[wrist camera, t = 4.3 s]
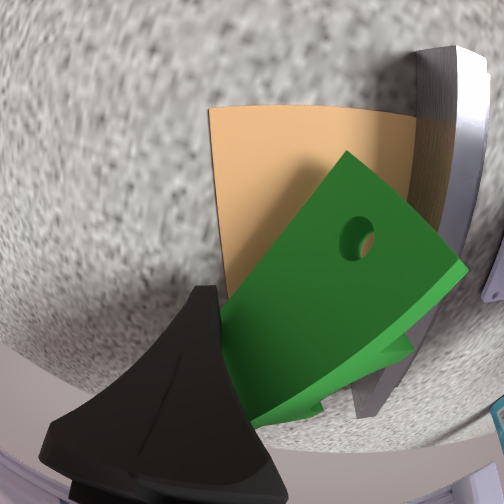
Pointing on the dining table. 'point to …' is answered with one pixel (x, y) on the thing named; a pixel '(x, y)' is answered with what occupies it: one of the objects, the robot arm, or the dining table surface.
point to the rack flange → (368, 152)
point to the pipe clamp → (333, 296)
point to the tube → (499, 419)
